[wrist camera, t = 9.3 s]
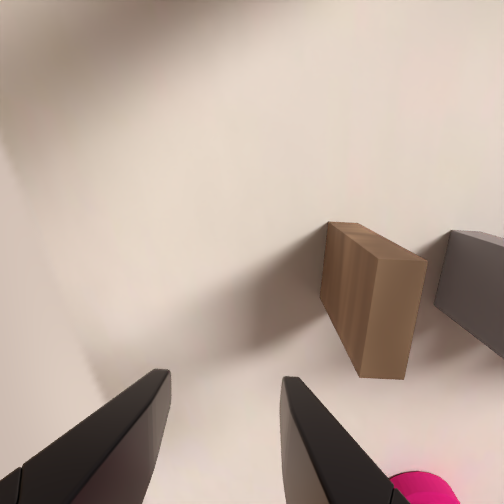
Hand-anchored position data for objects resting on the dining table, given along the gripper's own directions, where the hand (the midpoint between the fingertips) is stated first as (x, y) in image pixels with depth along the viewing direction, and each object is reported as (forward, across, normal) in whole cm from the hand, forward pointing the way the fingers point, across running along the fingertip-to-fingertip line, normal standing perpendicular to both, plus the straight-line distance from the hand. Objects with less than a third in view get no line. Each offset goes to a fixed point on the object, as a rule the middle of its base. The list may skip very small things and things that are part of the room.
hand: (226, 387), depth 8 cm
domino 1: (+12, -6, 0) cm, 13 cm away
